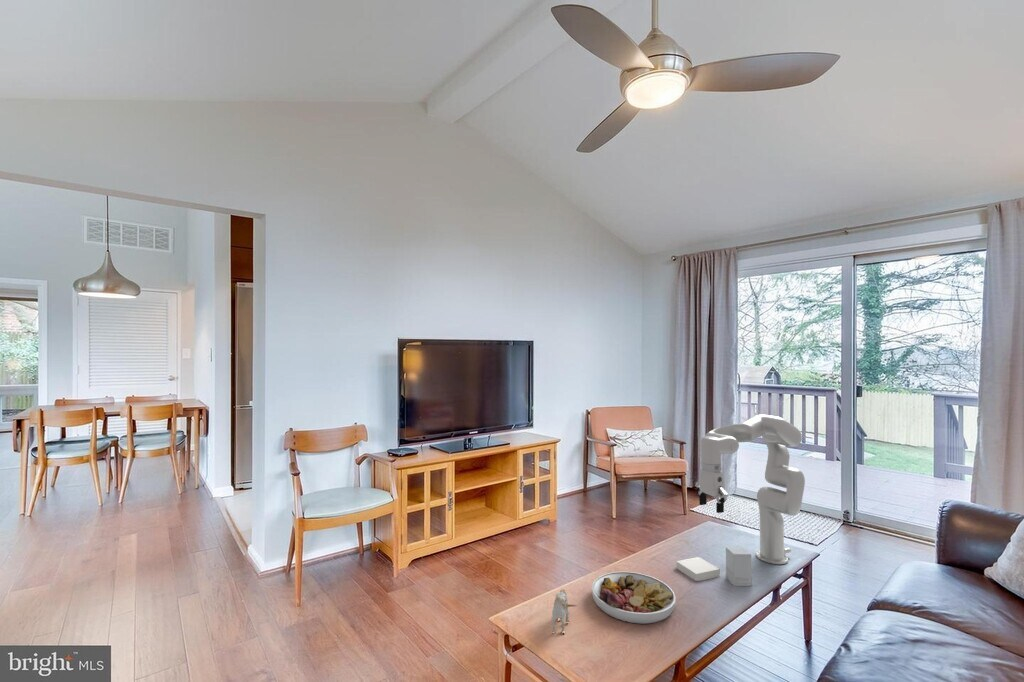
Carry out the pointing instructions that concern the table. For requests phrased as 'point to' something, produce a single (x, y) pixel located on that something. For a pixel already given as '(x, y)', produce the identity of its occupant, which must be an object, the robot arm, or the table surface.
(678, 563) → the plinth
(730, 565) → the supplement box
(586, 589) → the table surface
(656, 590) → the bowl
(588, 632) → the table surface
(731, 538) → the table surface
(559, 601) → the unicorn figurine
